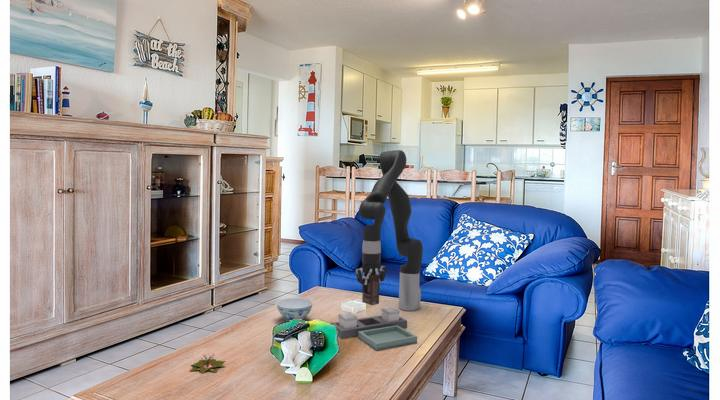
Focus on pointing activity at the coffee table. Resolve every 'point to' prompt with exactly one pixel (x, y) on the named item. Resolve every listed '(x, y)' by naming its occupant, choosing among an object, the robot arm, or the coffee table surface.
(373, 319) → the slot holder
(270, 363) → the coffee table surface
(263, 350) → the coffee table surface
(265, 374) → the coffee table surface
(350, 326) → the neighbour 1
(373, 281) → the box
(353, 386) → the coffee table surface
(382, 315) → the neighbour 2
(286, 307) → the chinaware
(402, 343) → the tray
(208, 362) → the lily flower
